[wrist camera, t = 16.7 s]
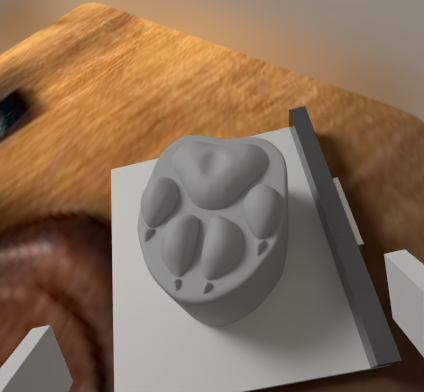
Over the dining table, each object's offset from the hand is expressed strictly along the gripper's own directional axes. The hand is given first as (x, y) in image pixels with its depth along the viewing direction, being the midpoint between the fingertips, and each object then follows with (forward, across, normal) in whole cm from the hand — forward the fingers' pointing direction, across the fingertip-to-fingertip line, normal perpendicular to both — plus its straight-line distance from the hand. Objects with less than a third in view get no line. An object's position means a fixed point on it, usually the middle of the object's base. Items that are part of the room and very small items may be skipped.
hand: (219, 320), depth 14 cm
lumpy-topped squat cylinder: (+17, 0, -4) cm, 18 cm away
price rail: (+17, +9, -4) cm, 20 cm away
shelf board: (+18, 0, -5) cm, 19 cm away
